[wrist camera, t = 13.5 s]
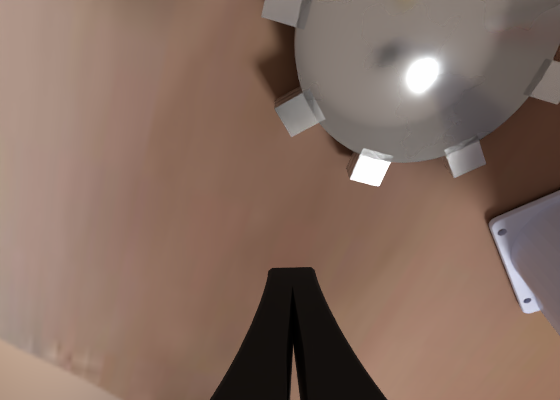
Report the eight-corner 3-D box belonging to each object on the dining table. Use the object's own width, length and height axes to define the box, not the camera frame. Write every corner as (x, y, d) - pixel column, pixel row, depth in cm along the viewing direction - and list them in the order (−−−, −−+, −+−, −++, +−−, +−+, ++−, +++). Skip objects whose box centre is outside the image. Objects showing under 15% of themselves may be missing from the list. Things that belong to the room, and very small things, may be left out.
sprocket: (659, -177, 13) (860, -250, 8) (518, 175, 20) (585, 234, 16) (258, -178, 13) (246, -252, 8) (266, 175, 20) (262, 234, 16)
